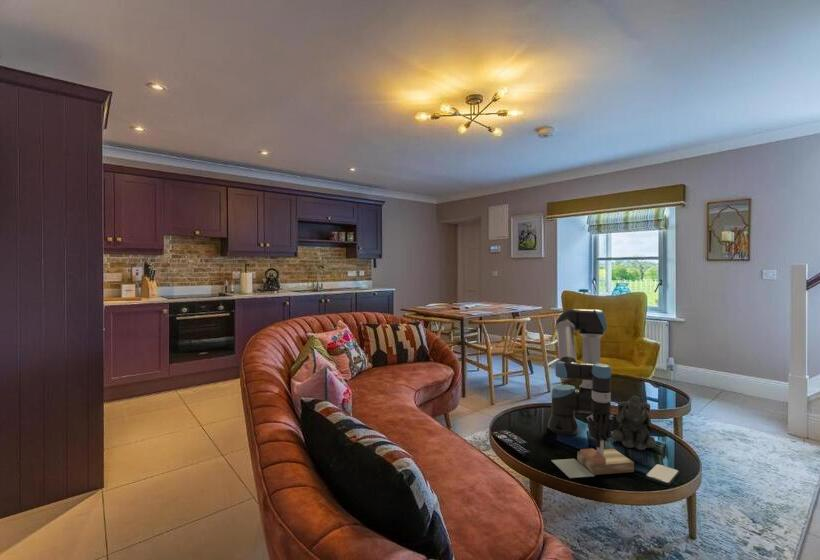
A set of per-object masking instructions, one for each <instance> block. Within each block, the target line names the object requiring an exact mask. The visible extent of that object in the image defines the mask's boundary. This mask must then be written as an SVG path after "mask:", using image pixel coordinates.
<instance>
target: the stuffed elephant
mask: <svg viewBox="0 0 820 560" xmlns="http://www.w3.org/2000/svg"><path fill="white" fill-rule="evenodd" d="M650 410H651V405H650V404H649V403H646V402H645V403H644V402H641V398H640V397H639V396H637V395H633V396H631V397H630V398H629V400H627V401H619V402H618V403H617V415H616V419H615V420H616V422H617V423H618V424H619V425H618V427H617V429H614V430H612V432H611V434H612V438H613V439H614V440H615V441H616V442H619V443H621V444H622V445H623V447H625V448H626V449H627V448H628V449H632V448H635V449H636V450H639V451H645V450H646V448H647V449H651V448H654V447H655V445H656V439H655V438H654V437H653V436H650V435H651V434H650V432H649V429H648V427H647V425H648V426H649V427H651V426H652V419H651V416H650Z"/></svg>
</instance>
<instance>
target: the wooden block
mask: <svg viewBox="0 0 820 560" xmlns="http://www.w3.org/2000/svg"><path fill="white" fill-rule="evenodd" d="M595 450H596V451H597V449H595ZM576 452H577V454H576V455H577V456H576V460H577V461H578V462H579V463H580V464H581V465H583V466H584V467H585V468H586V469H587V470H588V471H590V472H591V473H592V474H593V475H594V476H596V475H598V476H599V475H611V474H623V473H633V472H635V462H634V461H633V460H631V459H630V458H628V457H627V456H625V455H624V454H622V453H621V452H620V451H618V450H616V449H615V448H604V457H605V458H606V463H594V464H593V463H591V462H590V461H589V460H588V459H586V458H585V457H584V456H582V455H581V454H580V450H577V451H576Z"/></svg>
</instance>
